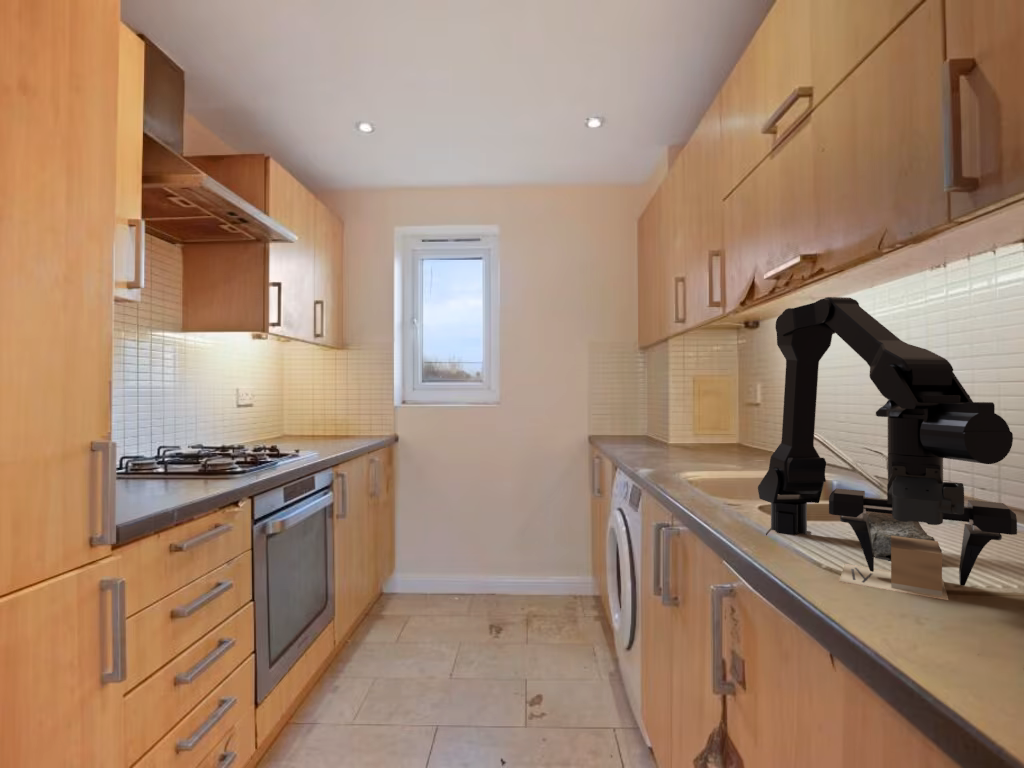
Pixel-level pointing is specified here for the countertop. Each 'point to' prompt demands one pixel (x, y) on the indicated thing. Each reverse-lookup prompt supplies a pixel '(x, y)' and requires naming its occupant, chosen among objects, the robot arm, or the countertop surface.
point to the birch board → (877, 579)
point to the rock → (891, 533)
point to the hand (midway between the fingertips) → (915, 577)
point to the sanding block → (916, 565)
